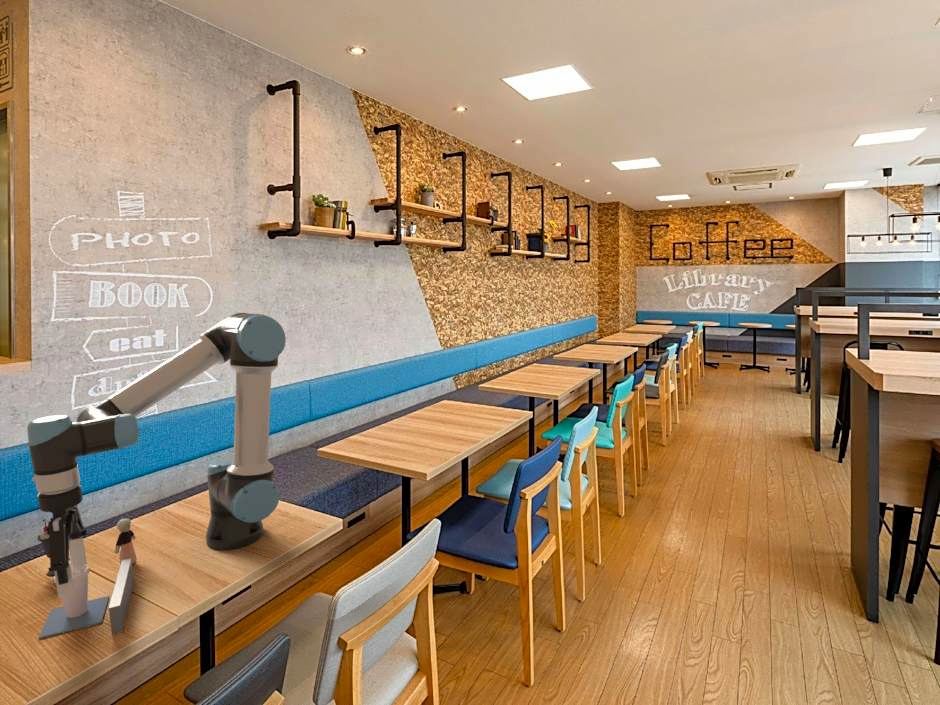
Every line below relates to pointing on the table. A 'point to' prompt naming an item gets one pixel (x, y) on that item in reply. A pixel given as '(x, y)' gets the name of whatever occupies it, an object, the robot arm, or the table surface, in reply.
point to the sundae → (46, 542)
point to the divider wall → (121, 596)
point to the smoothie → (77, 591)
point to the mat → (62, 623)
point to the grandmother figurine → (125, 541)
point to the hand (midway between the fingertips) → (73, 579)
